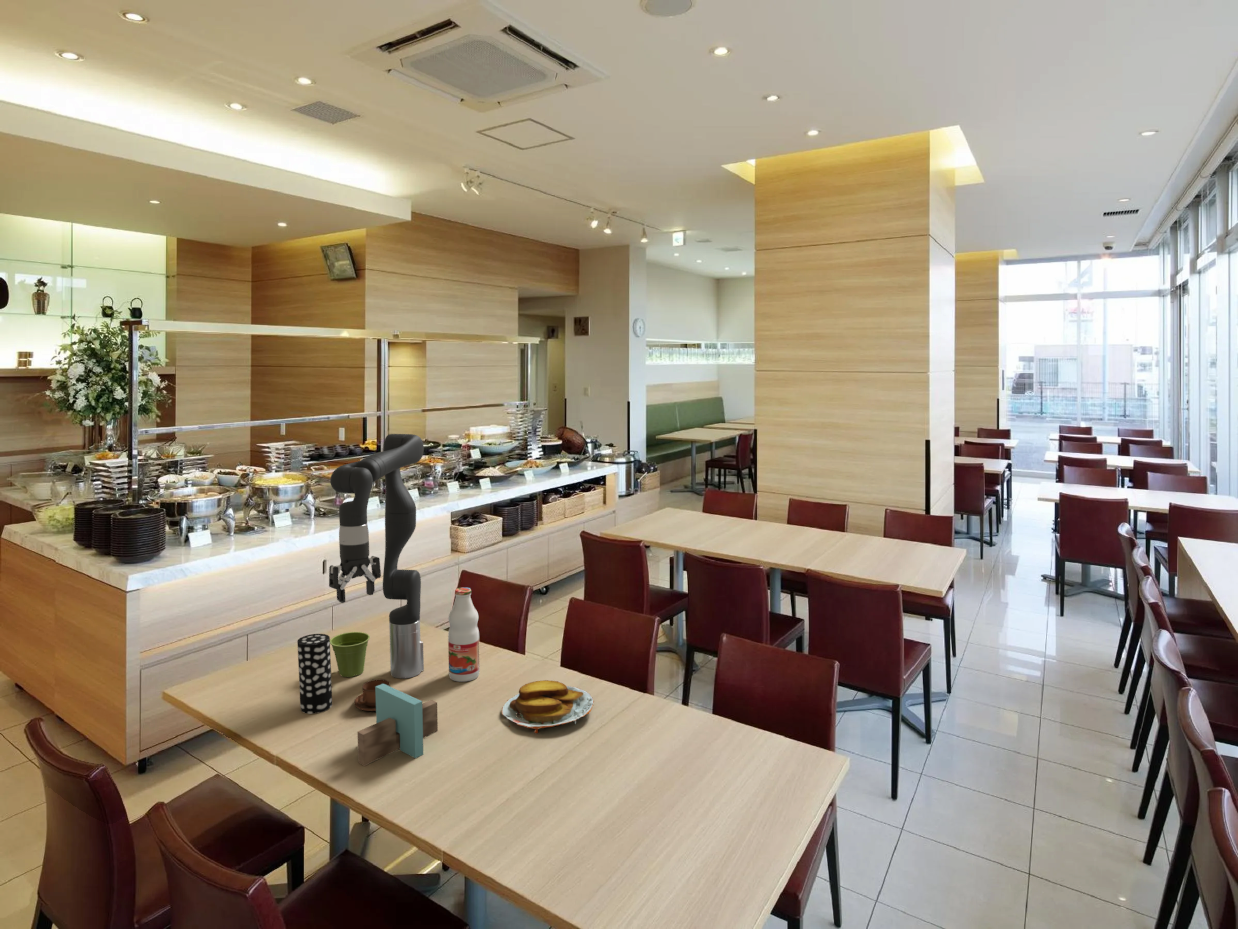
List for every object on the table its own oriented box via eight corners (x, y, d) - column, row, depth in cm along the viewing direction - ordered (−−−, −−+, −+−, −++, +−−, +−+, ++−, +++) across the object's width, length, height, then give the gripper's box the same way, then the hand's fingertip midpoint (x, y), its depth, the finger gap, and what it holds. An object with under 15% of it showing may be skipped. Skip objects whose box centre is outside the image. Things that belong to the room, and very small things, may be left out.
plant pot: (332, 667, 231) (331, 633, 229) (371, 663, 234) (370, 630, 233) (329, 683, 220) (328, 647, 218) (370, 678, 223) (369, 643, 222)
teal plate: (384, 734, 190) (383, 683, 188) (423, 754, 180) (422, 701, 178) (376, 737, 188) (375, 686, 186) (415, 758, 178) (414, 704, 177)
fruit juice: (485, 672, 229) (484, 587, 225) (469, 684, 220) (468, 595, 216) (459, 668, 232) (458, 583, 228) (442, 679, 223) (441, 592, 219)
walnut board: (432, 728, 193) (431, 699, 192) (437, 730, 192) (437, 702, 191) (358, 762, 176) (357, 731, 175) (364, 765, 175) (363, 734, 174)
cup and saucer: (384, 717, 199) (383, 696, 198) (345, 712, 202) (344, 691, 201) (406, 698, 211) (405, 678, 210) (369, 693, 213) (368, 674, 213)
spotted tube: (324, 714, 200) (322, 645, 197) (295, 713, 200) (291, 644, 198) (337, 700, 208) (334, 634, 206) (308, 700, 208) (305, 633, 206)
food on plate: (546, 746, 186) (546, 721, 185) (483, 714, 202) (482, 692, 201) (612, 710, 205) (613, 688, 204) (550, 684, 222) (550, 663, 221)
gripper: (337, 547, 187) (340, 608, 189) (385, 537, 198) (387, 594, 201) (321, 543, 192) (324, 602, 194) (369, 533, 203) (371, 589, 205)
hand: (356, 598), depth 197 cm, fingers open, 8 cm apart
